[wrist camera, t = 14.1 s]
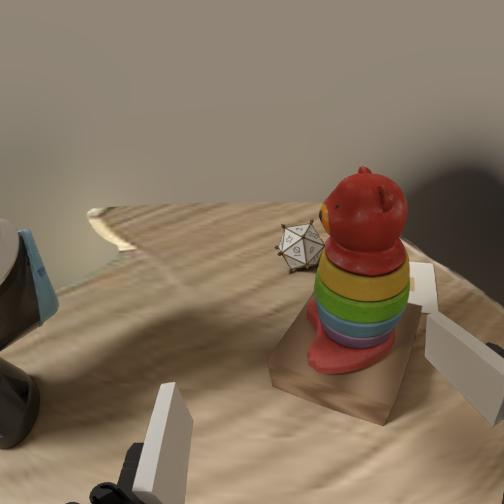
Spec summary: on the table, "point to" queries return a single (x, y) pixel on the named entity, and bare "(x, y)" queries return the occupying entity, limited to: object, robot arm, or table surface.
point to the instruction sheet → (423, 287)
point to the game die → (300, 246)
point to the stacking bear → (359, 274)
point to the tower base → (344, 384)
